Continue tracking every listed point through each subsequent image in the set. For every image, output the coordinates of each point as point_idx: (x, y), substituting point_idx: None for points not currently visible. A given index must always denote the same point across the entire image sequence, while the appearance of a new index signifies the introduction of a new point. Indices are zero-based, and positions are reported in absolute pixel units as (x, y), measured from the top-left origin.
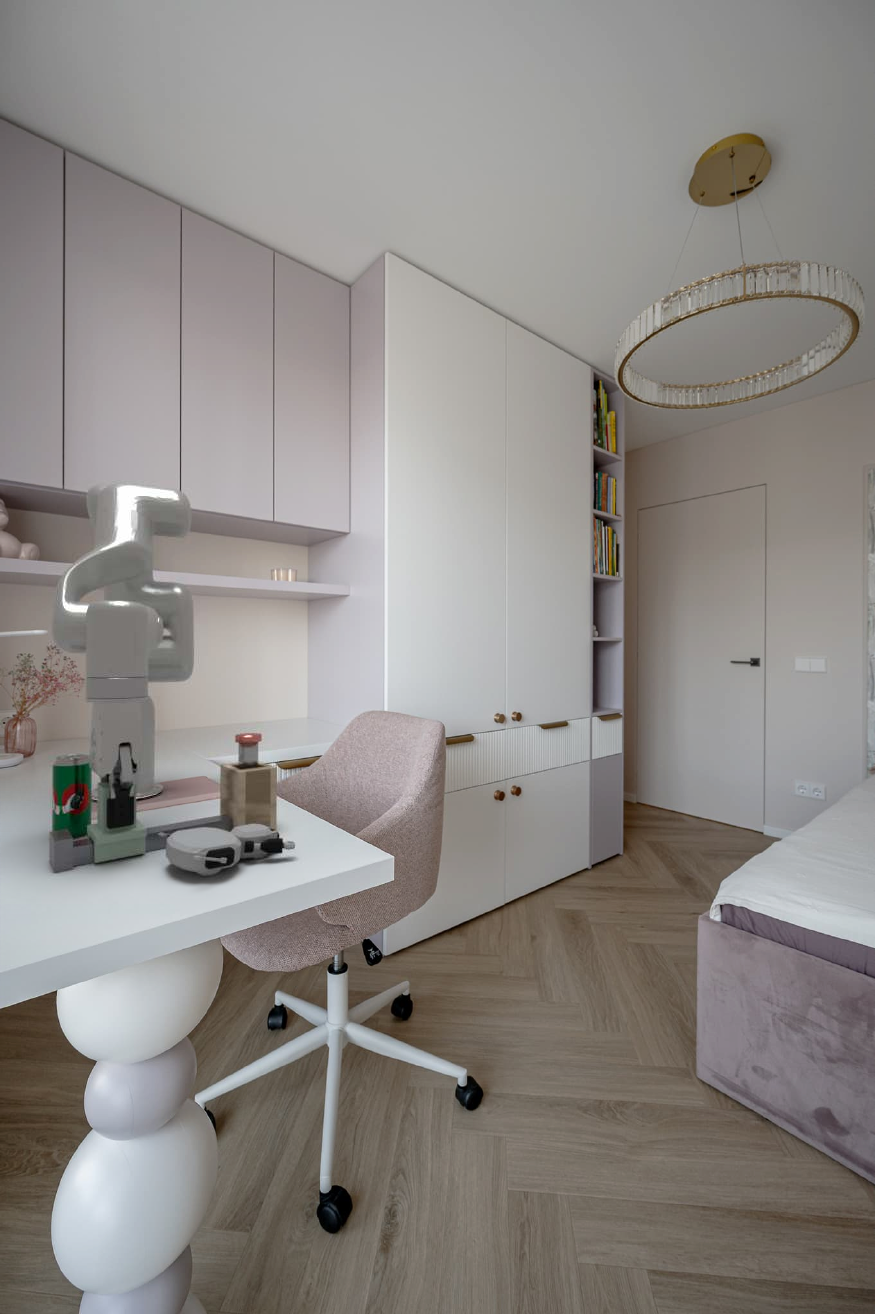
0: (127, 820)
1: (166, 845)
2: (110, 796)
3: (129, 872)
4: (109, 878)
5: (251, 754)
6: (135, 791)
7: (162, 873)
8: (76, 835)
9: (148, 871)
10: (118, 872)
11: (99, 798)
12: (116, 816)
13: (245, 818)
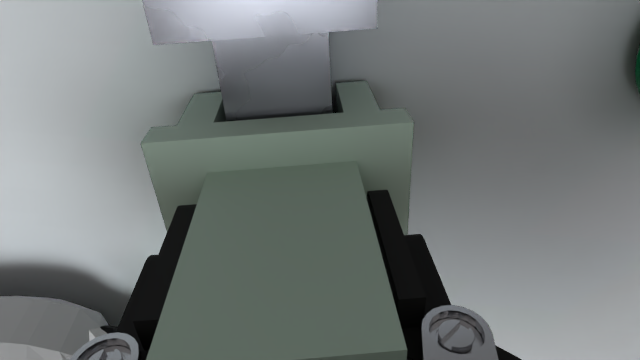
0: None
1: (13, 324)
2: (112, 352)
3: (62, 179)
4: (19, 120)
5: None
6: None
7: (15, 252)
8: (637, 55)
9: (50, 224)
10: (76, 151)
11: (310, 272)
12: (142, 274)
13: None
